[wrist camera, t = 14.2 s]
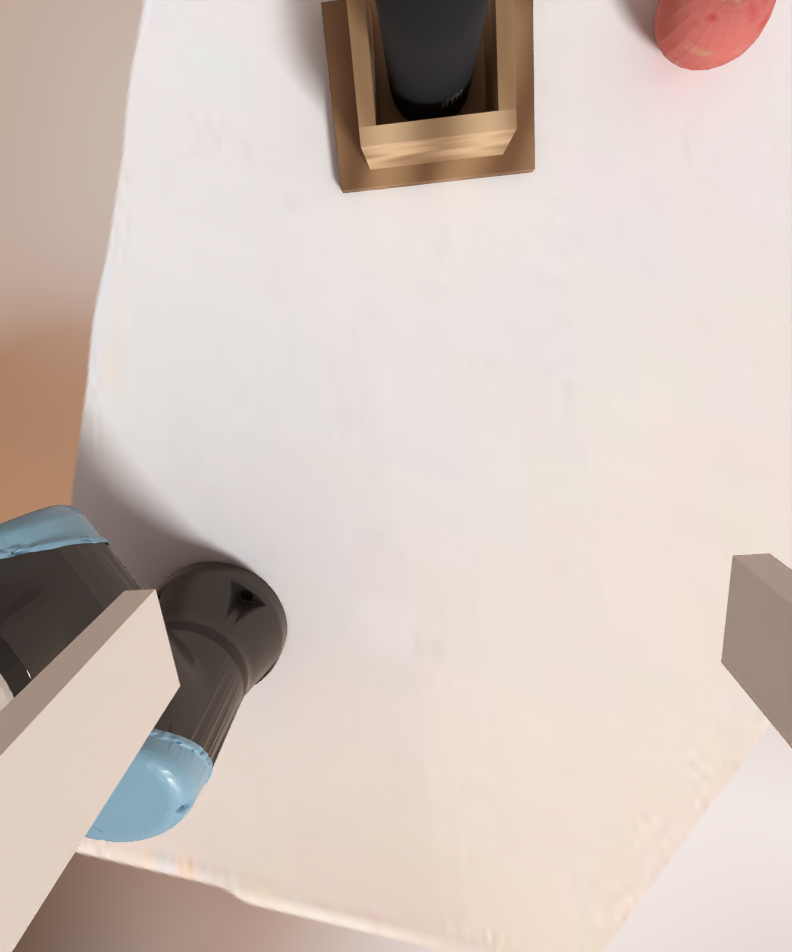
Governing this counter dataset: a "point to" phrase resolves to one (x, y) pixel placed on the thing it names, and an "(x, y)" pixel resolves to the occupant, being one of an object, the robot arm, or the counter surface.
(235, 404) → the counter surface
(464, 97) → the wine bottle
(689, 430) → the counter surface
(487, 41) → the u rest
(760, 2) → the apple
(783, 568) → the robot arm
